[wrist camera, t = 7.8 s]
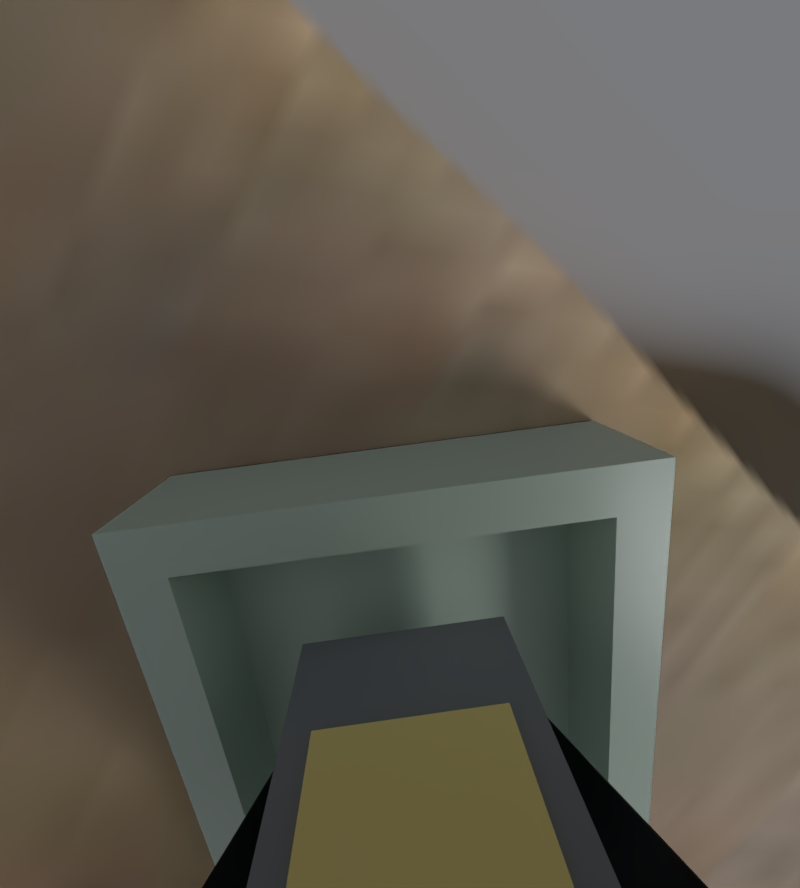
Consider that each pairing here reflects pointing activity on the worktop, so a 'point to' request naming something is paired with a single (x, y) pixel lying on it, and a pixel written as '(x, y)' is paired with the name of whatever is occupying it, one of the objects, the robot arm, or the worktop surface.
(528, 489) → the tray
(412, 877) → the grey block
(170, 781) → the worktop surface
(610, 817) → the robot arm
